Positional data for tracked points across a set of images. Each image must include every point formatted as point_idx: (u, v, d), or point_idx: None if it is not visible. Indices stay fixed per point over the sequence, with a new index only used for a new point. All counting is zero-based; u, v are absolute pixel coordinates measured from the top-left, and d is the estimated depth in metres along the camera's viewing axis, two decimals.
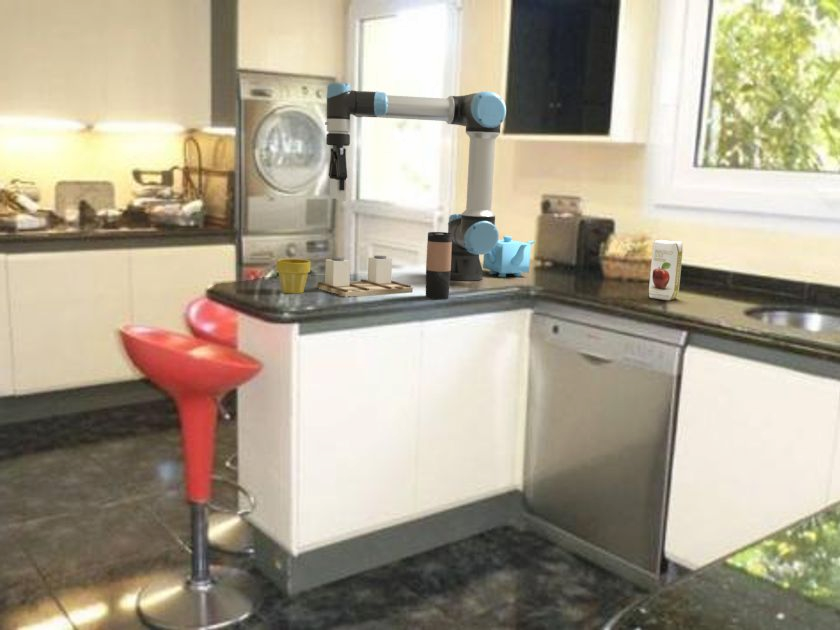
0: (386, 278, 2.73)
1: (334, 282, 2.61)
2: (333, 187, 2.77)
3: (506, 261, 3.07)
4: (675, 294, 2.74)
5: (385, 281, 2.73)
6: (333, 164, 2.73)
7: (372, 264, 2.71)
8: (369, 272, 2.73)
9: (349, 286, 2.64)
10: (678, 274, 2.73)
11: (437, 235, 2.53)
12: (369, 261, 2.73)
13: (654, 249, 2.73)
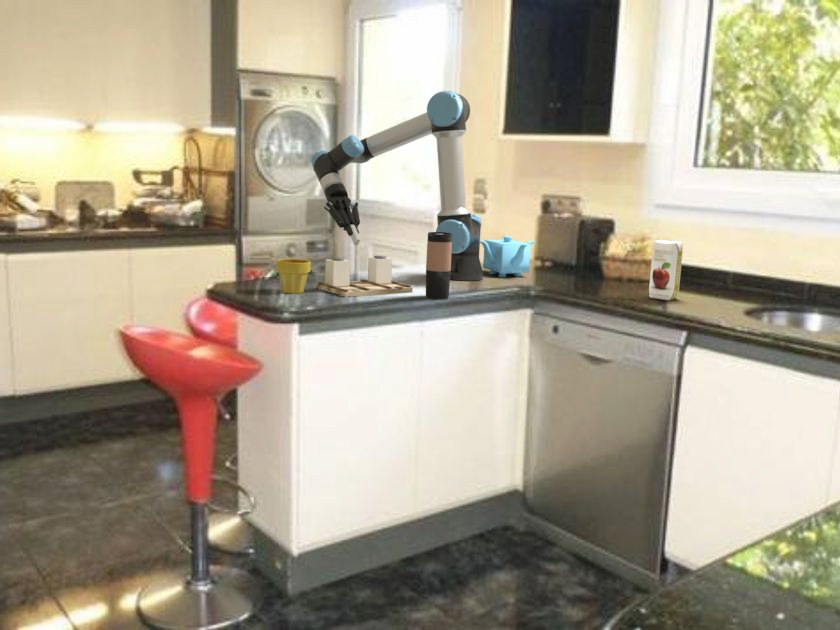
0: (386, 278, 2.73)
1: (334, 282, 2.61)
2: None
3: (506, 261, 3.07)
4: (675, 294, 2.74)
5: (385, 281, 2.73)
6: (345, 214, 2.89)
7: (372, 264, 2.71)
8: (369, 272, 2.73)
9: (349, 286, 2.64)
10: (678, 274, 2.73)
11: (437, 235, 2.53)
12: (369, 261, 2.73)
13: (654, 249, 2.73)
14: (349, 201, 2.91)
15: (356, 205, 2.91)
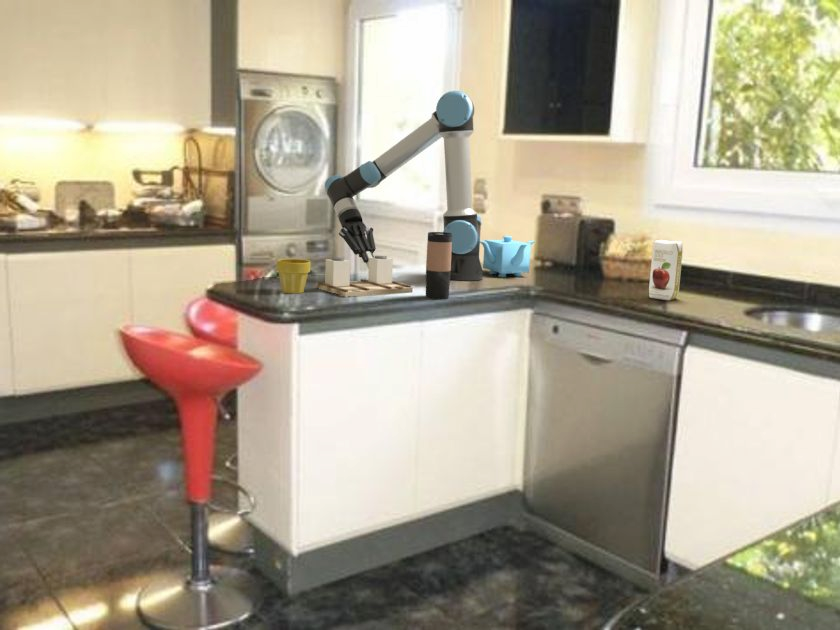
0: (387, 278, 2.73)
1: (334, 282, 2.61)
2: None
3: (506, 261, 3.07)
4: (675, 294, 2.74)
5: (386, 281, 2.73)
6: (360, 240, 2.83)
7: (373, 264, 2.71)
8: (370, 272, 2.73)
9: (349, 286, 2.64)
10: (678, 274, 2.73)
11: (437, 235, 2.53)
12: (370, 261, 2.73)
13: (654, 249, 2.73)
14: (364, 227, 2.85)
15: (371, 231, 2.85)
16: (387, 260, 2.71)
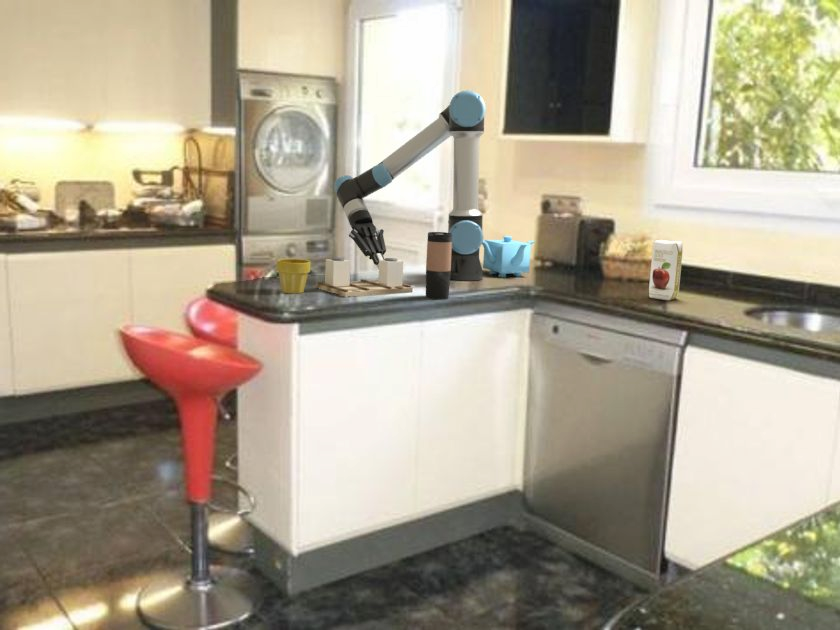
0: (397, 281, 2.68)
1: (334, 282, 2.61)
2: None
3: (506, 261, 3.07)
4: (675, 294, 2.74)
5: (396, 284, 2.68)
6: None
7: (383, 267, 2.66)
8: (380, 275, 2.68)
9: (349, 286, 2.64)
10: (678, 274, 2.73)
11: (437, 235, 2.53)
12: (380, 264, 2.68)
13: (654, 249, 2.73)
14: (374, 228, 2.80)
15: (381, 232, 2.80)
16: (398, 262, 2.67)
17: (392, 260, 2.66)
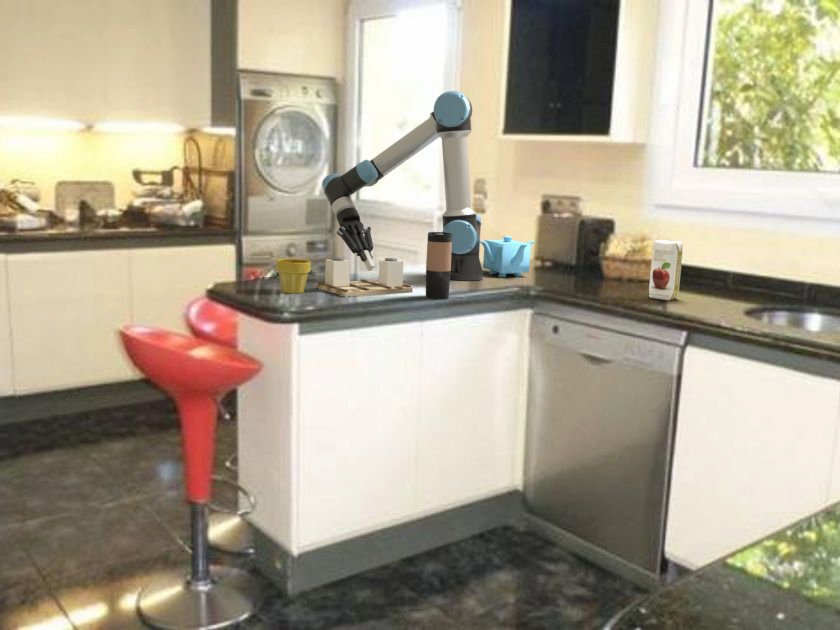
0: (397, 281, 2.68)
1: (334, 282, 2.61)
2: None
3: (506, 261, 3.07)
4: (675, 294, 2.74)
5: (396, 284, 2.68)
6: (358, 239, 2.84)
7: (383, 267, 2.66)
8: (380, 275, 2.68)
9: (349, 286, 2.64)
10: (678, 274, 2.73)
11: (437, 235, 2.53)
12: (380, 264, 2.68)
13: (654, 249, 2.73)
14: (362, 225, 2.86)
15: (369, 230, 2.86)
16: (398, 262, 2.67)
17: (392, 260, 2.66)
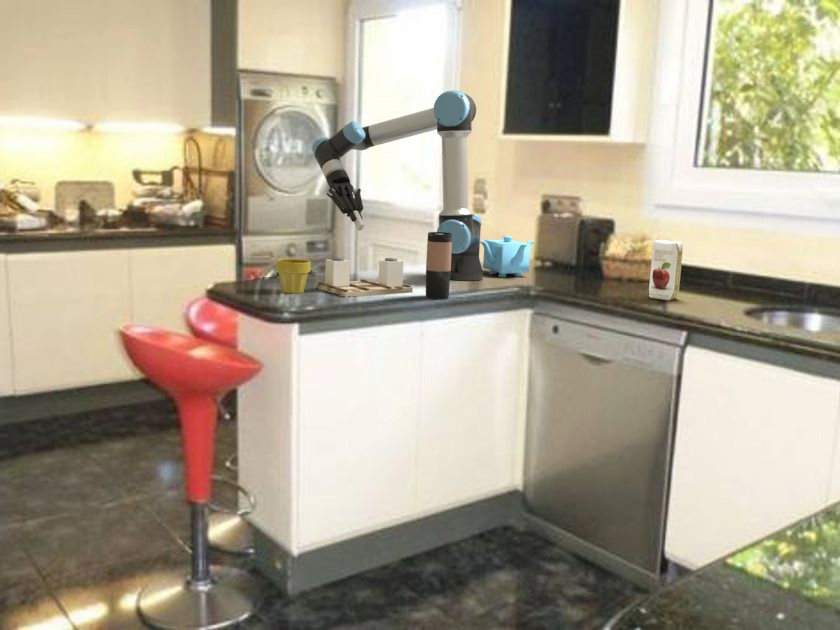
0: (397, 281, 2.68)
1: (334, 282, 2.61)
2: None
3: (506, 261, 3.07)
4: (675, 294, 2.74)
5: (396, 284, 2.68)
6: (348, 200, 2.87)
7: (383, 267, 2.66)
8: (380, 275, 2.68)
9: (349, 286, 2.64)
10: (678, 274, 2.73)
11: (437, 235, 2.53)
12: (380, 264, 2.68)
13: (654, 249, 2.73)
14: (351, 187, 2.89)
15: (359, 191, 2.89)
16: (398, 262, 2.67)
17: (392, 260, 2.66)
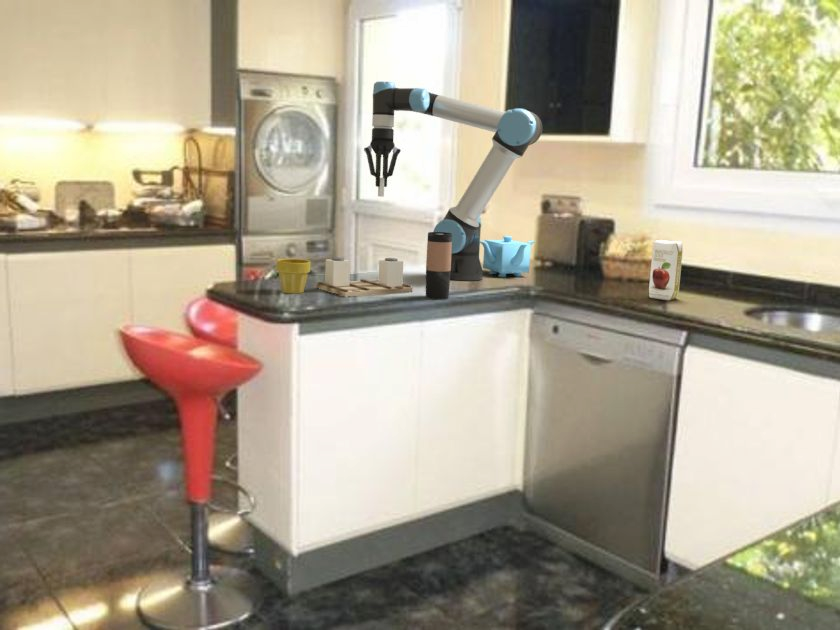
0: (397, 281, 2.68)
1: (334, 282, 2.61)
2: None
3: (506, 261, 3.07)
4: (675, 294, 2.74)
5: (396, 284, 2.68)
6: (383, 158, 2.93)
7: (383, 267, 2.66)
8: (380, 275, 2.68)
9: (349, 286, 2.64)
10: (678, 274, 2.73)
11: (437, 235, 2.53)
12: (380, 264, 2.68)
13: (654, 249, 2.73)
14: (392, 147, 2.91)
15: (397, 153, 2.92)
16: (398, 262, 2.67)
17: (392, 260, 2.66)
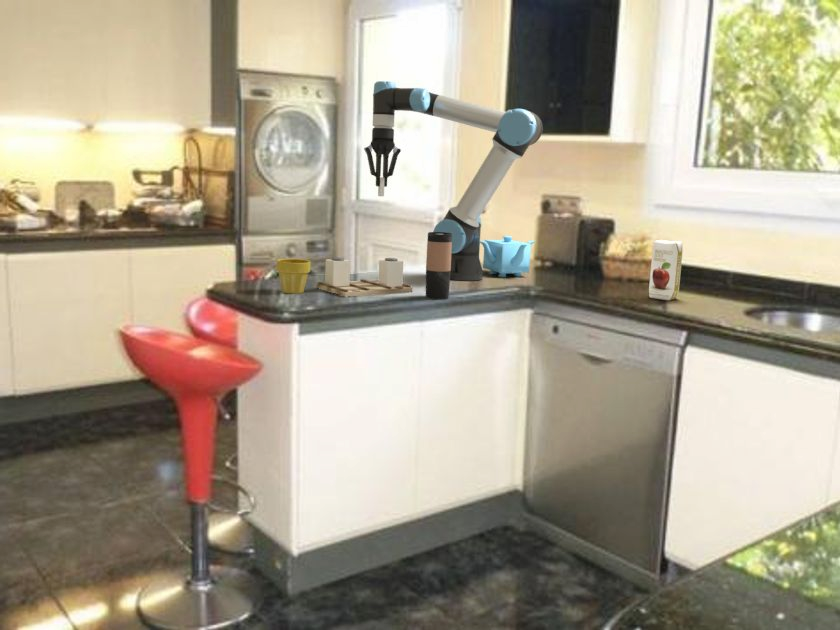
0: (397, 281, 2.68)
1: (334, 282, 2.61)
2: None
3: (506, 261, 3.07)
4: (675, 294, 2.74)
5: (396, 284, 2.68)
6: (383, 158, 2.93)
7: (383, 267, 2.66)
8: (380, 275, 2.68)
9: (349, 286, 2.64)
10: (678, 274, 2.73)
11: (437, 235, 2.53)
12: (380, 264, 2.68)
13: (654, 249, 2.73)
14: (392, 147, 2.91)
15: (397, 152, 2.92)
16: (398, 262, 2.67)
17: (392, 260, 2.66)
